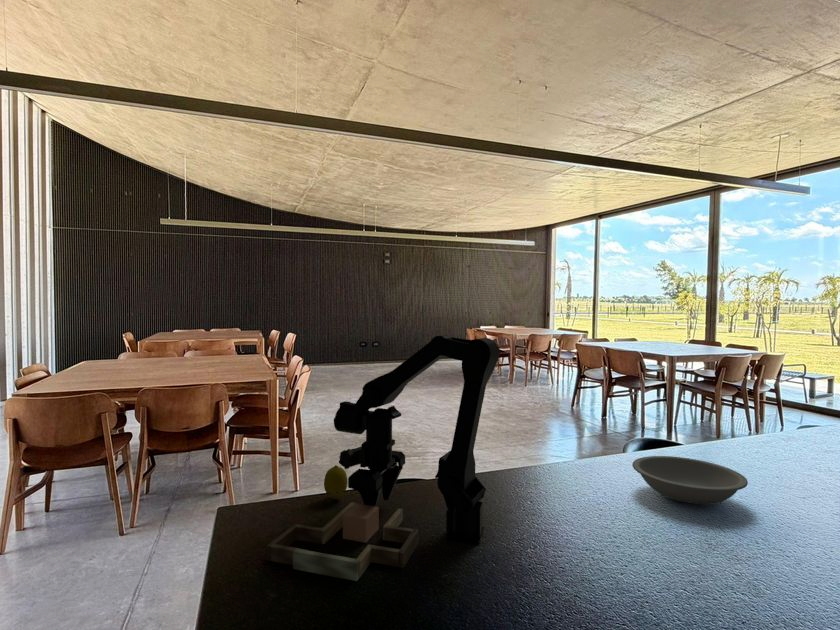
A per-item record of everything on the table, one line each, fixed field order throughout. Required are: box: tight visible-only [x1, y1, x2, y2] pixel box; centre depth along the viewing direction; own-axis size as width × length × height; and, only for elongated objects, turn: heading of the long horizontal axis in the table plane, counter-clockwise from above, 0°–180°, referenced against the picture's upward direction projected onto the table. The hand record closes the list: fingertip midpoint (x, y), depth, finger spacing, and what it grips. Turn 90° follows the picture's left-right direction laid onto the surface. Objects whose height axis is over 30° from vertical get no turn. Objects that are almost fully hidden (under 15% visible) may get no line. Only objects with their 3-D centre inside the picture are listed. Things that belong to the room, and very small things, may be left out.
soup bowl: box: [632, 455, 749, 505], centre depth 108 cm, size 24×24×7 cm
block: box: [342, 503, 380, 544], centre depth 89 cm, size 5×6×4 cm
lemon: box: [323, 465, 348, 500], centre depth 106 cm, size 6×6×8 cm
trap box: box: [266, 501, 420, 582], centre depth 85 cm, size 24×23×3 cm
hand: (378, 507), depth 97 cm, fingers open, 8 cm apart
